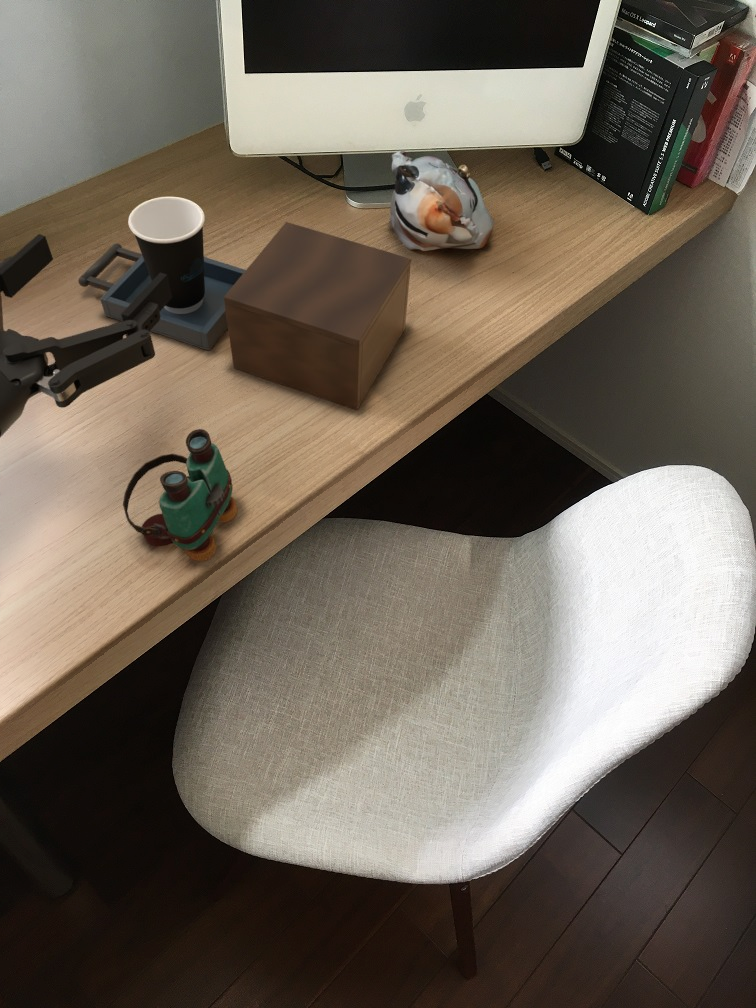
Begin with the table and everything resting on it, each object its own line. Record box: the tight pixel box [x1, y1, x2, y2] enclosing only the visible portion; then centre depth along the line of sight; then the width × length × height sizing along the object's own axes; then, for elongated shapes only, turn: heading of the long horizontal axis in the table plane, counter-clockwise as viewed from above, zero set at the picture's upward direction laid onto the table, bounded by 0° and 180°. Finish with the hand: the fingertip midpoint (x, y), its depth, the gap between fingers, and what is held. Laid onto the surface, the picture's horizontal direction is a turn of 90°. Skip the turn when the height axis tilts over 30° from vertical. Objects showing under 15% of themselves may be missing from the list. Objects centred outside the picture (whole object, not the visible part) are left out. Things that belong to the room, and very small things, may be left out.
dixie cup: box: [127, 196, 206, 314], centre depth 87 cm, size 8×8×11 cm
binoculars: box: [122, 428, 238, 562], centre depth 70 cm, size 9×11×10 cm
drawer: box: [77, 243, 247, 351], centre depth 91 cm, size 18×12×2 cm, turn 68°
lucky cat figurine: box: [389, 150, 495, 252], centre depth 96 cm, size 15×12×14 cm
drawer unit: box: [224, 221, 412, 411], centre depth 85 cm, size 15×14×10 cm
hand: (105, 265), depth 76 cm, fingers open, 13 cm apart
